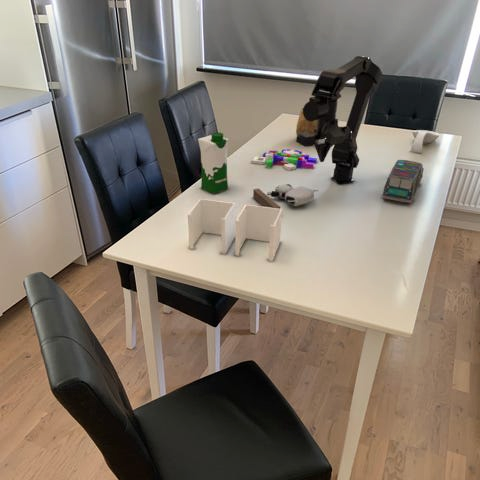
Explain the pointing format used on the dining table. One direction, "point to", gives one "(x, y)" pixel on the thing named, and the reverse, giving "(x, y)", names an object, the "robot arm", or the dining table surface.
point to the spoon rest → (422, 139)
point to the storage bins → (223, 223)
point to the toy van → (403, 181)
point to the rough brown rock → (305, 125)
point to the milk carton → (214, 162)
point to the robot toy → (293, 194)
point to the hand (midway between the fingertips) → (321, 161)
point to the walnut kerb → (264, 199)
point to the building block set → (286, 159)
